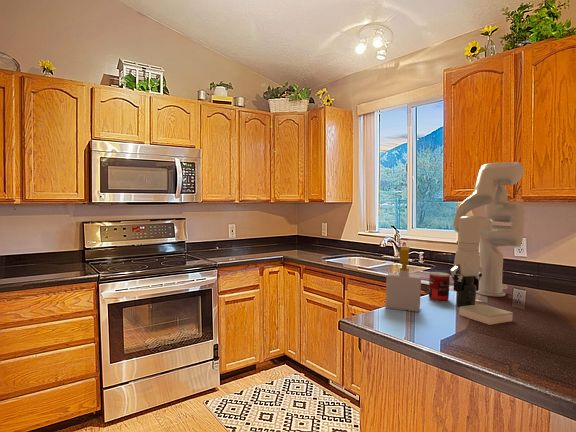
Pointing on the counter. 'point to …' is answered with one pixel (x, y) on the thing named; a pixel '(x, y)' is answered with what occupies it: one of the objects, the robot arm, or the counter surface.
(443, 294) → the canned food
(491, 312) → the plate
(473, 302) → the supplement bottle
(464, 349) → the counter surface
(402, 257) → the soap bottle
